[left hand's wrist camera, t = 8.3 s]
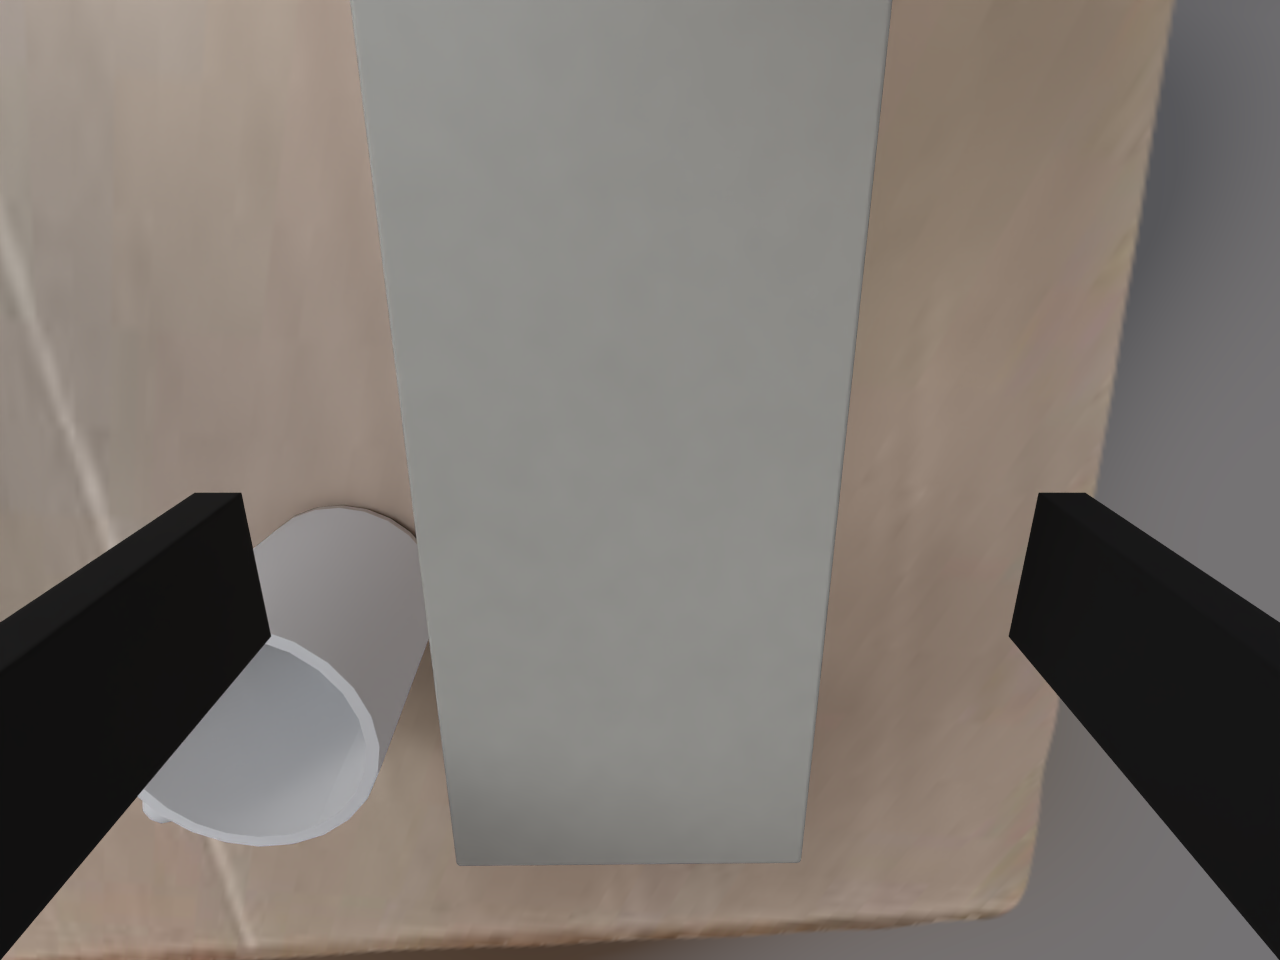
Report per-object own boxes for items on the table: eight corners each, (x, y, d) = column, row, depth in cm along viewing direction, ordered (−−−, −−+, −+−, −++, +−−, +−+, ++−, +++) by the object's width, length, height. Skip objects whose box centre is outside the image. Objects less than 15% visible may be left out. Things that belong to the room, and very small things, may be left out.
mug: (338, 452, 31) (206, 568, 22) (493, 589, 34) (437, 747, 24) (185, 607, 34) (7, 771, 24) (339, 723, 36) (232, 914, 27)
